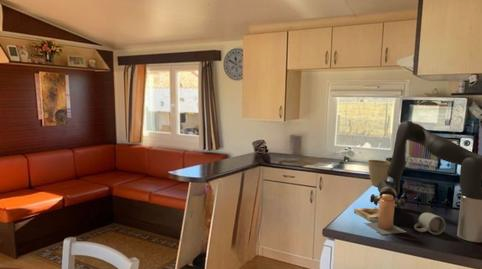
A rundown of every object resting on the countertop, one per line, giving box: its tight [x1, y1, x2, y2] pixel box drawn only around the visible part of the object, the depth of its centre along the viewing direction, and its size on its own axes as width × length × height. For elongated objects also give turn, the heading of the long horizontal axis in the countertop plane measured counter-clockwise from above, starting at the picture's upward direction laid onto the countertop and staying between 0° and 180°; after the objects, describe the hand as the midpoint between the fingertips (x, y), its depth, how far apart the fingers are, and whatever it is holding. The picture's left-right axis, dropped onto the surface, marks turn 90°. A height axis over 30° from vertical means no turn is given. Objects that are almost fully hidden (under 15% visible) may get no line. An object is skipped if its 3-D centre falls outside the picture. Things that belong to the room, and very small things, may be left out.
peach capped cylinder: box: [377, 194, 396, 230], centre depth 143 cm, size 7×6×14 cm
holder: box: [353, 207, 379, 223], centre depth 158 cm, size 12×12×2 cm
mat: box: [363, 221, 407, 236], centre depth 144 cm, size 12×12×1 cm
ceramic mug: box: [413, 212, 446, 236], centre depth 143 cm, size 11×8×8 cm
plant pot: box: [367, 159, 391, 188], centre depth 220 cm, size 15×15×16 cm
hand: (386, 204), depth 147 cm, fingers open, 8 cm apart
